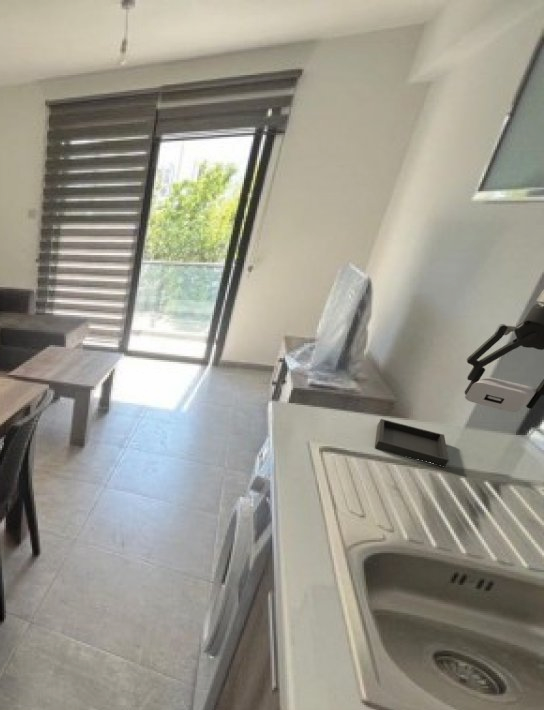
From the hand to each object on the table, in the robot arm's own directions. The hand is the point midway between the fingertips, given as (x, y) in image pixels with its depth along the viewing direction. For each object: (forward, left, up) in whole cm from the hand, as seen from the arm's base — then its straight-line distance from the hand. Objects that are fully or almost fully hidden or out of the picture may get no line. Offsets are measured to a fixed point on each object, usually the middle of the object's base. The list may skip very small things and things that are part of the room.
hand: (496, 400), depth 116 cm
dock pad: (-8, +11, -14) cm, 20 cm away
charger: (0, 0, 0) cm, 0 cm away
